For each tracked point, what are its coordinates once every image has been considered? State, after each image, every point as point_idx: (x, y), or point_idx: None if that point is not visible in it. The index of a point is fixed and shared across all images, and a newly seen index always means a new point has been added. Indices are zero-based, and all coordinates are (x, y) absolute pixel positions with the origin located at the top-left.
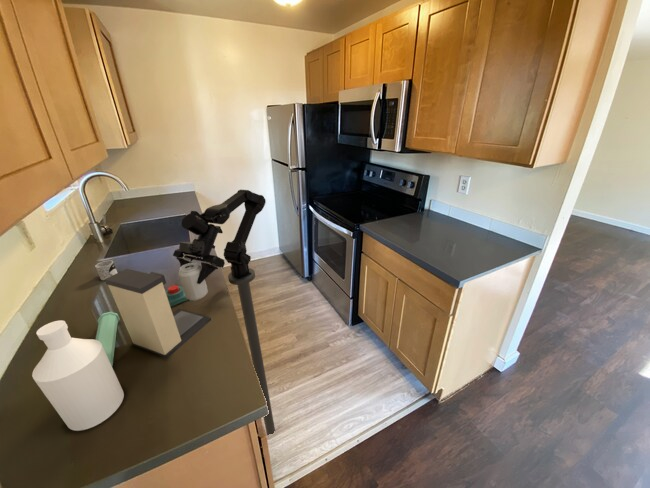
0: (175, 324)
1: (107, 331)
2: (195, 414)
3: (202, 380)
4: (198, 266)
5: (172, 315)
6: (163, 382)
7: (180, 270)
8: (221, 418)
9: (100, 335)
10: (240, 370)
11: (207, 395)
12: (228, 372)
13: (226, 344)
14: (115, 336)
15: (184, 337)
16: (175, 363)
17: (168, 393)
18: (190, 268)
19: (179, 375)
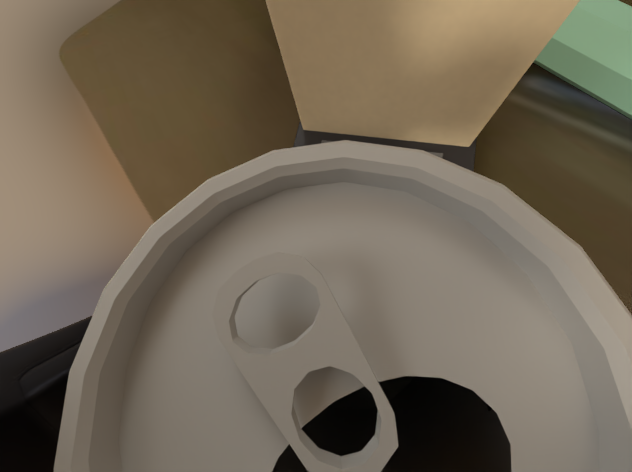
0: (285, 63)
1: (621, 31)
2: (164, 4)
3: (183, 59)
4: (56, 465)
5: (269, 8)
6: (272, 32)
7: (451, 166)
8: (116, 12)
9: (623, 8)
10: (107, 100)
11: (158, 36)
12: (132, 89)
13: (167, 163)
14: (577, 78)
15: (302, 143)
16: (278, 78)
17: (242, 17)
18: (221, 301)
19: (245, 54)
